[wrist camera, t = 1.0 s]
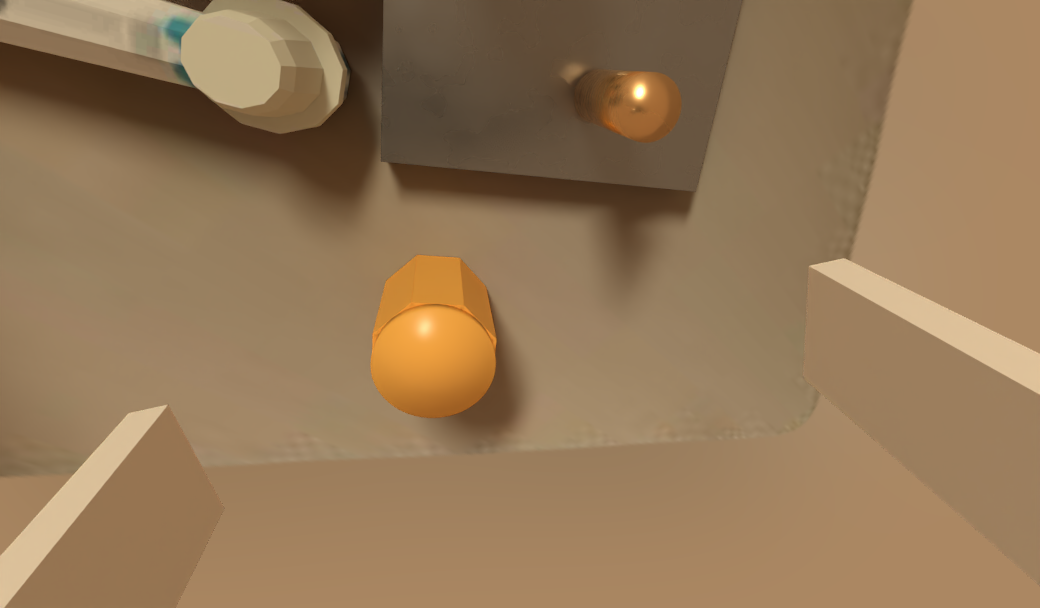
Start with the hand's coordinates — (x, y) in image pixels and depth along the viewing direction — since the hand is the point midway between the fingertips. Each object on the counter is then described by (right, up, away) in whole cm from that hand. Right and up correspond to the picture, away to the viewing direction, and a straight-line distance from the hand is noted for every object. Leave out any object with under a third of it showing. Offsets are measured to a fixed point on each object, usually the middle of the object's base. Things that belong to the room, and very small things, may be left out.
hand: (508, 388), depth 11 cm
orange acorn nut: (-5, +2, +20) cm, 21 cm away
